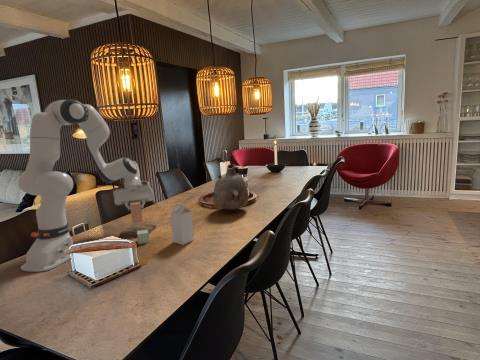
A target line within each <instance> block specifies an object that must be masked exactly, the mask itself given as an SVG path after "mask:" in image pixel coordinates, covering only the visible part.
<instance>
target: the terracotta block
mask: <svg viewBox="0 0 480 360" xmlns="http://www.w3.org/2000/svg"><path fill="white" fill-rule="evenodd" d="M129 206H130V207H131V210H130V213H131V215H130V216H131V221H132V222H131V223H132V224H136V223H137V224H138V223H142V222H143V215H142V209H141V202H140V201H137V202H130V203H129Z"/></svg>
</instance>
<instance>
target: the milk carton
mask: <svg viewBox="0 0 480 360" xmlns="http://www.w3.org/2000/svg"><path fill="white" fill-rule="evenodd" d="M170 221H171V223H170V224H171V231H172V233H171V234H172V242H173V243H174V244H179V245H182V246H184V245H186V244H189V243H191V242H193V241H194V229H193V228H194V227H193V211H192V210H191V209H189V208H188V207H186V204H183V203H179V202H175V204H174V207H173V208H172V210H171V211H170Z"/></svg>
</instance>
